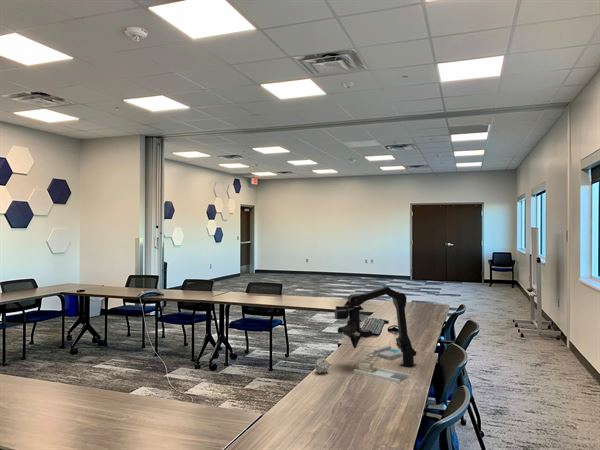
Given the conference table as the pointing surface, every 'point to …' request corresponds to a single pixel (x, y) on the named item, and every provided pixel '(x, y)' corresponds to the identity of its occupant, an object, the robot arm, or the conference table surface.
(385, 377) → the trap lane
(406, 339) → the robot arm
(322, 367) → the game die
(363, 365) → the birch block
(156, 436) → the conference table surface
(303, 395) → the conference table surface
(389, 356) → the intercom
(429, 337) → the conference table surface
